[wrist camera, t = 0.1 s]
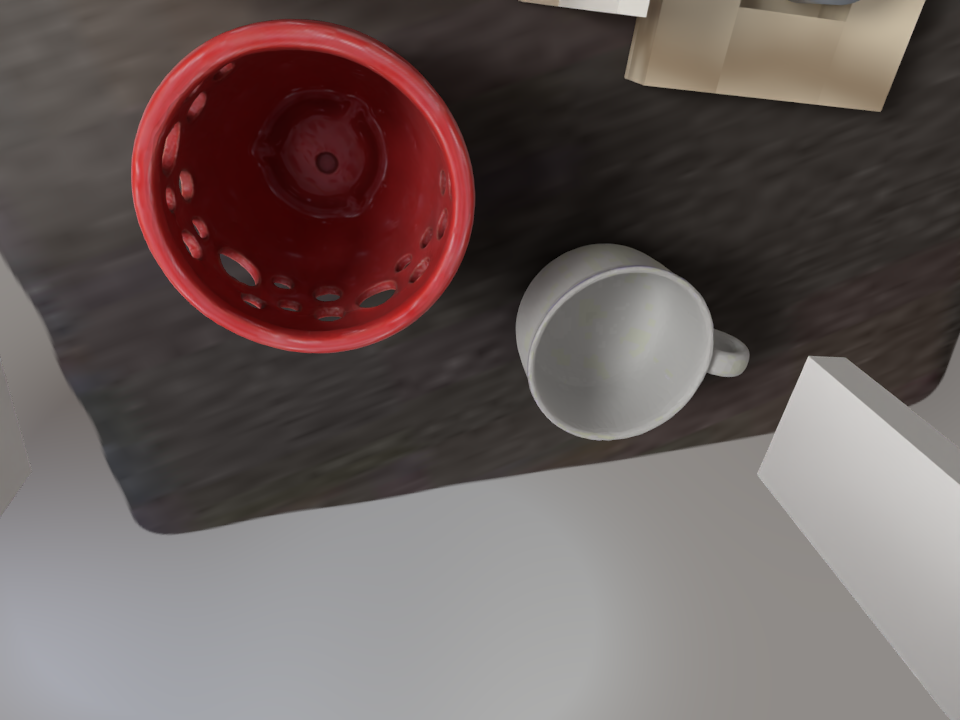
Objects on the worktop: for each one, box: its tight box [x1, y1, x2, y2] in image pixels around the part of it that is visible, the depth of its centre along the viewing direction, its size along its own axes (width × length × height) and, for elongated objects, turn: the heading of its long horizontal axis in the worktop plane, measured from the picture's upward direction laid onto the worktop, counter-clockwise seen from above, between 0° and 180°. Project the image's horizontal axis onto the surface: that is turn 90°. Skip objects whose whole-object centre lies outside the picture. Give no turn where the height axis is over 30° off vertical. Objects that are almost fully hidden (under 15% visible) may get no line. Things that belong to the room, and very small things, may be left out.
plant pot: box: [131, 19, 475, 353], centre depth 30 cm, size 13×13×12 cm
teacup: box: [516, 244, 749, 441], centre depth 39 cm, size 14×11×8 cm
